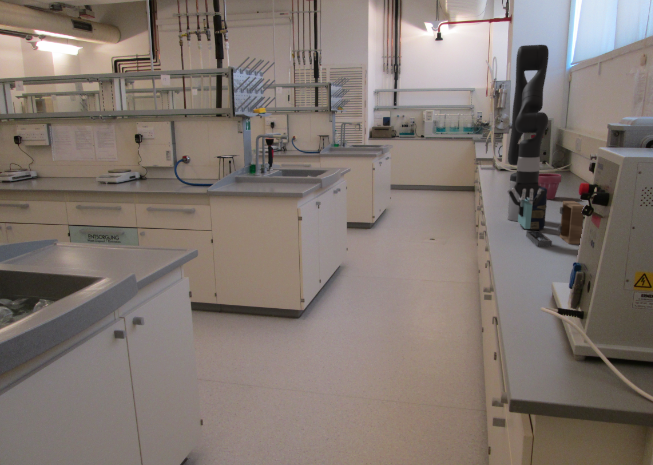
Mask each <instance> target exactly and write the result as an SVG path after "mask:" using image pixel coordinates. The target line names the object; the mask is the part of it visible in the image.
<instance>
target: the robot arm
mask: <svg viewBox="0 0 653 465" xmlns="http://www.w3.org/2000/svg"><path fill="white" fill-rule="evenodd" d="M516 52H517V54H516V65H515V87H514V97H513V105H512V112H511V113H512V118H511V132H510V140H509V143H508V144H509V145H508V153H507V162H508V164H509V165H511V166H516V172H514V173H511V174H510V177H509V189H508V190H507V194H508V204H507V205H508V207H507V219H508V220H510V221H514V222H518V214H519V215H520V216H521V217H523V209H524V207H523V206H524V201H525V197H527V201H528V202H530V203H531V204H532V206H534V205H537V204H538V203H539V201H540V200H541V199H542V197H543V196H544V194H545V193H546V191H544V190H542V189H540V188H539V185H538V180H539V174H540V168H541V166H540V165H541V164H540V163H541V161H540V159H541V158H540V157H541V156H540V155H541V146H542V140H543V137H544V134H545V132H546V130H547V127H548V124H549V117H548V115H547V113H545V112H543V111H541V110H542V109H543V104H544V102H543V101H544V87H545V82H546V77H547V71H548V63H549V47H548V45H546V44H530V45H529V44H527V45H525V44H524V45H521V46H519V47H518V49H517V51H516ZM530 71H531V72H532V71H535V72H536V73H535V74H534V75H533V77H532V78H531V79H530V80H529V81H528V80H527V78H526V73H525V72H530ZM534 133H535V135H534V136H533V137H532V138H528V139H524V140H521V137H522V136H523V135H524V134H534ZM519 141H520V142H519ZM537 191H538V192H537ZM536 192H537V194H538V195H537V196H536V197H535V199H534V200H533V196H534V194H535V193H536Z"/></svg>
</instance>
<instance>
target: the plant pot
mask: <svg viewBox="0 0 653 465" xmlns="http://www.w3.org/2000/svg"><path fill="white" fill-rule="evenodd" d="M560 183H562V175H561V174H559V173H545V172H544V173H539V180H538V185H539V186H541V187H545V188H546V189H547V200H554V199H555V198H556V195H557V192H558V189H559V186H560Z"/></svg>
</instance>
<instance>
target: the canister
mask: <svg viewBox="0 0 653 465" xmlns="http://www.w3.org/2000/svg"><path fill="white" fill-rule="evenodd" d="M539 188H540V189H542V190H544V191H546V193H545V194H544V196H543V197H542V199H541V200H540V201H539V203H538V204H537V205H534V206H532V214H531V225H530V229H529V230H542V229H544V228H545V224H546V214H547V207H548V206H547V202H548V199H547V189H546V188H545V187H541V186H539ZM537 192H538V191H537ZM537 192H536V193H535V194H534V196H533V200H534V199H535V197H536V196H537V195H538V194H537ZM525 199H526V200H527V197H525ZM519 226H520V227H521V228H523V229H524V227H523V226H522V225H521V224H520V223H519Z"/></svg>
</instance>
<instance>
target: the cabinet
mask: <svg viewBox="0 0 653 465" xmlns="http://www.w3.org/2000/svg"><path fill="white" fill-rule="evenodd" d="M584 206H585V205H583V204H582V203H580V202H576V201H575V200H562V206H560V207H559V214H560V216H561V220H560V224H558V228H557V232H559V238H560V239H561V240H562V241H564V242H566V243H567V244H568V245H580V244H579V243H580V238H581V239H582V237H581V234H582V233H583V224H584V216H585V215H584V216H583V215H582V213H581V212H582V209H583V207H584ZM584 208H585V207H584Z"/></svg>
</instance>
